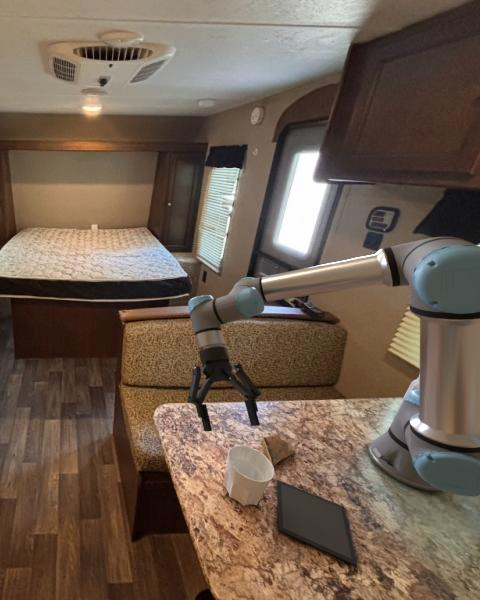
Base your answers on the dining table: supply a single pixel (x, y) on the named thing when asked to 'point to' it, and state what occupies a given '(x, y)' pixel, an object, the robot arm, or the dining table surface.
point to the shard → (277, 448)
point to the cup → (247, 474)
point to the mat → (314, 522)
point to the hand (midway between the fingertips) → (232, 428)
